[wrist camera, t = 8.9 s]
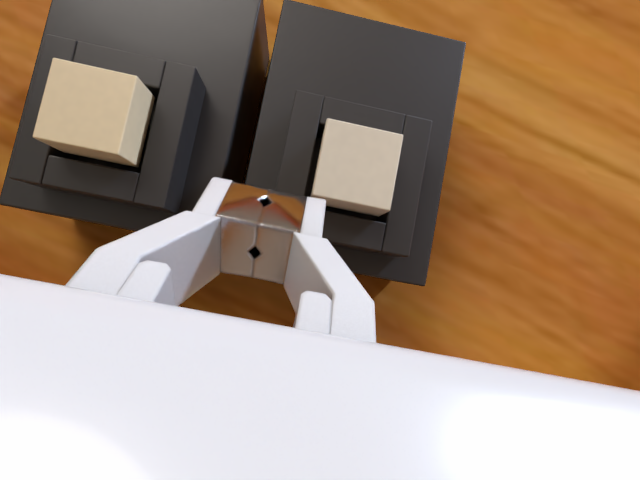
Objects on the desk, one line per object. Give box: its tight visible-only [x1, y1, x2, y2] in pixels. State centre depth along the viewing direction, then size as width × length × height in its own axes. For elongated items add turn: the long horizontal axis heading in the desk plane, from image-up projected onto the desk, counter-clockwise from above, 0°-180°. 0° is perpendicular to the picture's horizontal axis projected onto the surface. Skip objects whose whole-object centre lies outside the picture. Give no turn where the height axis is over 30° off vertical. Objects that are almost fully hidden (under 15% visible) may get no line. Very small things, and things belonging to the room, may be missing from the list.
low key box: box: [245, 0, 466, 286], centre depth 18 cm, size 12×9×7 cm
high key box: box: [0, 0, 269, 231], centre depth 18 cm, size 12×9×7 cm
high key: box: [33, 58, 155, 167], centre depth 14 cm, size 3×3×2 cm
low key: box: [311, 118, 403, 216], centre depth 14 cm, size 3×3×2 cm
